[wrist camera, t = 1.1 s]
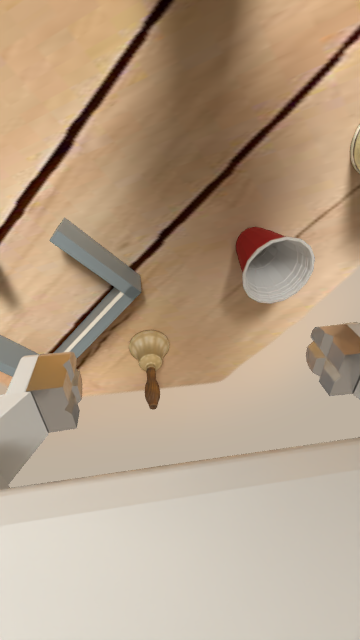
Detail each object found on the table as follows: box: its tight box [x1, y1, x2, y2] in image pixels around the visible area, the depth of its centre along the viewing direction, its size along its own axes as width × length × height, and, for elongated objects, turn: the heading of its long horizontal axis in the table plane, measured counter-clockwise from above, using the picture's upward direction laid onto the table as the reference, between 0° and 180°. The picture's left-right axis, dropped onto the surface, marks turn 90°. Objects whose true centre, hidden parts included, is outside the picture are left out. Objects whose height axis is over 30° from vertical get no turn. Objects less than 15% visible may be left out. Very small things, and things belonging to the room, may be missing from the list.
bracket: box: [0, 218, 141, 377], centre depth 52 cm, size 15×28×6 cm, turn 135°
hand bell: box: [129, 330, 169, 409], centre depth 57 cm, size 8×8×16 cm
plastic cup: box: [236, 227, 315, 303], centre depth 49 cm, size 11×11×12 cm
